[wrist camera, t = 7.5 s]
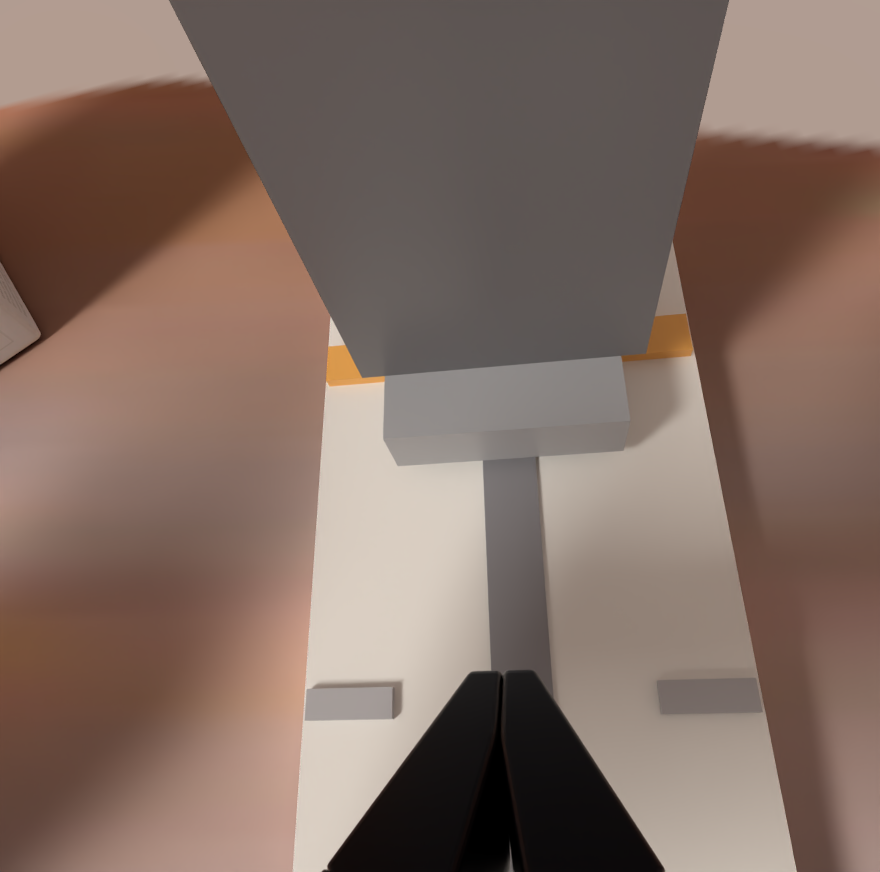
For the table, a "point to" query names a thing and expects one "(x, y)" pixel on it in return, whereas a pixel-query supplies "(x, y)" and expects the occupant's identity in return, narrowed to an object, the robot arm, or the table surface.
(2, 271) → the supplement box
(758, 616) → the table surface
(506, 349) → the fader
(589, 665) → the fader base
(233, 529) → the table surface
